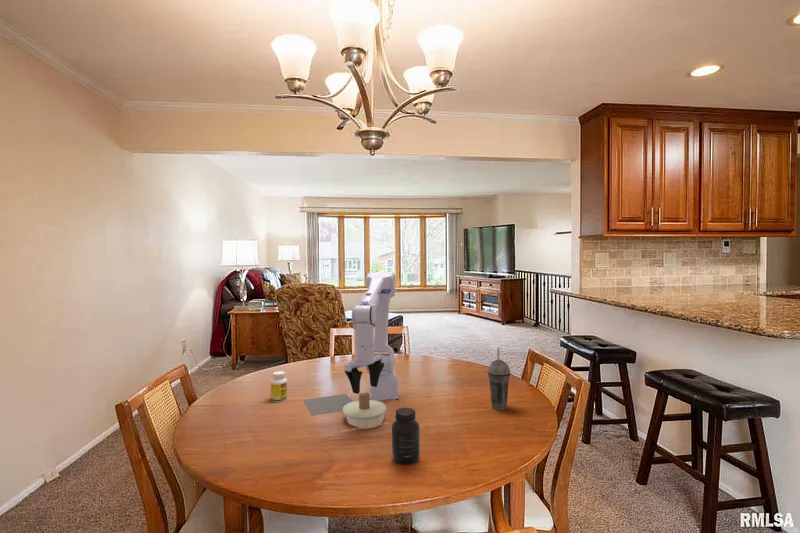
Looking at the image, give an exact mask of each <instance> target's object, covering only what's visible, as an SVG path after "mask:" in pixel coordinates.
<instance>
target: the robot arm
mask: <svg viewBox="0 0 800 533" xmlns="http://www.w3.org/2000/svg"><path fill="white" fill-rule="evenodd" d="M365 284H366V286H365V287H366V288H367V291H365V292H364V293H363V294H362V296H361V298H360V300H359V302H358V304H357V305H355V306H353V307H352V309H351V310H352V311H351V321H352V327H353V328H352V329H353V331H354V357H353V359H352V360H350V361H349V362H346V363H345V364H344V373H345V375H346V376H347V378H348V380H349V383H350V387H351V390H352V393H353V394H356V395H359V394H360V390H361V378H362V375H363V371H361V370H359V368H362V367H364V369H365V370H366V371H367V373H368V374H369V400H375V401H379V402H382V401H385V400H386V401H387V400H397V399H398V400H399V399H400V398H399V380H398V375H397V374H398V373H396V371H395V367H396V366H395V365H396V358H395V350H394V349H393V347H391V346H390V345H389V344H388V332H389V331H388V330H389V316H390V315H389V314H390V312H389V311H390V303H391V299H392V298H394V297H395V294H396V289H397V288H396V285H397V279H396V274H395V273H394V272H392V271H391V272H371V271H370V272H368V273H367V274H366V278H365Z"/></svg>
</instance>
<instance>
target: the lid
mask: <svg viewBox="0 0 800 533" xmlns="http://www.w3.org/2000/svg"><path fill="white" fill-rule="evenodd" d="M369 394H370V392H361V393H360V392H359V394H358V400H354V401H353V400H352V402H350V403H348V404H346V405H345V406H344V407H343V411H342V414H343V416H344V417H346V418H347V417H349V418H352V419H372V418H376V417H379V416H381V415H383V414H384V415H385V413H386V411H387V407H386V406H387V405H386V404H384V403H383V402H382V401H376V400H371V399H370V398H369Z"/></svg>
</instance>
